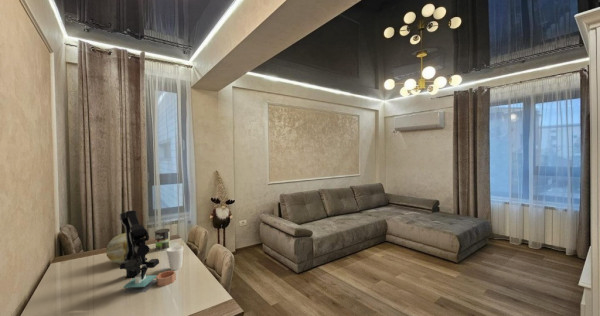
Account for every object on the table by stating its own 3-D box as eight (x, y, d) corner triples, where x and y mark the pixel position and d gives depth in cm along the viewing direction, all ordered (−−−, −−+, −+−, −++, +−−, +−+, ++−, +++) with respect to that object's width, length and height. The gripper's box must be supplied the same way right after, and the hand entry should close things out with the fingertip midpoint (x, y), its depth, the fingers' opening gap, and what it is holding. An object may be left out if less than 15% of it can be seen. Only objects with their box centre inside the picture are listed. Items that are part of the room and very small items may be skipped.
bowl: (153, 286, 137) (153, 278, 137) (162, 278, 146) (162, 271, 146) (170, 286, 137) (169, 278, 137) (178, 278, 146) (177, 270, 146)
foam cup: (177, 272, 153) (176, 251, 153) (164, 271, 155) (163, 251, 155) (187, 265, 163) (186, 245, 162) (175, 265, 164) (173, 245, 164)
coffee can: (164, 251, 190) (163, 232, 190) (152, 250, 192) (151, 232, 192) (173, 246, 200) (172, 228, 200) (162, 245, 202) (161, 228, 202)
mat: (120, 294, 131) (120, 293, 131) (137, 281, 144) (137, 280, 144) (145, 293, 131) (145, 292, 131) (159, 280, 144) (159, 279, 144)
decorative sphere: (142, 263, 170) (141, 234, 169) (105, 272, 158) (104, 240, 158) (141, 254, 186) (140, 227, 185) (108, 261, 175) (106, 233, 174)
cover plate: (123, 287, 132) (123, 279, 132) (137, 277, 143) (136, 269, 143) (144, 286, 132) (143, 278, 132) (156, 276, 143) (155, 269, 143)
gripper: (111, 257, 129) (112, 287, 130) (146, 256, 129) (148, 286, 130) (126, 249, 141) (127, 277, 141) (159, 248, 140) (160, 275, 141)
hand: (140, 279), depth 138 cm, fingers closed on cover plate, 2 cm apart
